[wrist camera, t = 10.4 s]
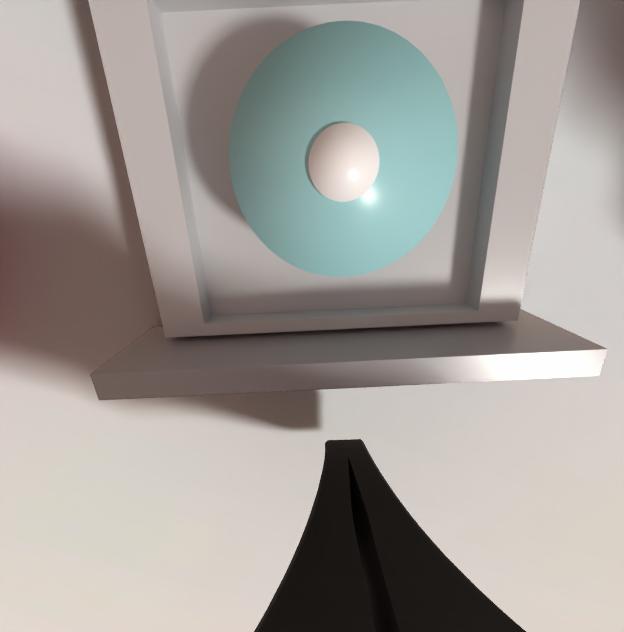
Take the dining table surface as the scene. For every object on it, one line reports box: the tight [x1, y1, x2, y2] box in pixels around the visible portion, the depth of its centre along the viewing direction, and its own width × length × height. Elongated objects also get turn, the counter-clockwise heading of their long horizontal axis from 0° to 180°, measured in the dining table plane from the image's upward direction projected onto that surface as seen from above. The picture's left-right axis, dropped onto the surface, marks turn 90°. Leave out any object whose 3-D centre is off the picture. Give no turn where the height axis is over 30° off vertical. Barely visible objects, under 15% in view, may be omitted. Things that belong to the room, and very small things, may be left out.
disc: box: [229, 20, 458, 277], centre depth 8 cm, size 5×5×2 cm
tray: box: [88, 0, 607, 400], centre depth 8 cm, size 14×14×3 cm
